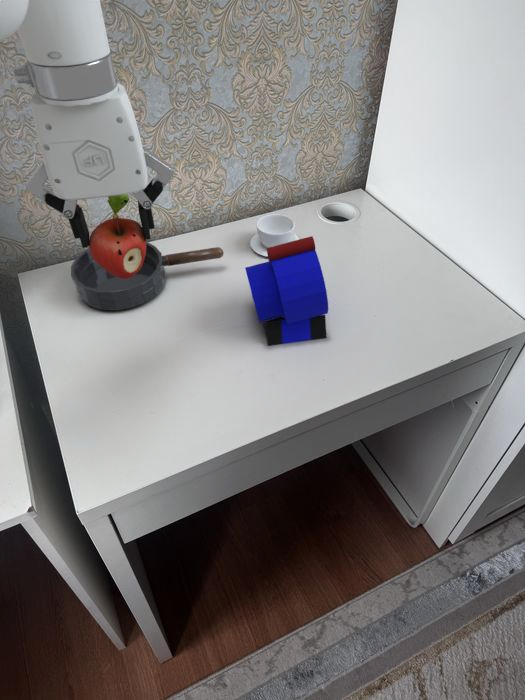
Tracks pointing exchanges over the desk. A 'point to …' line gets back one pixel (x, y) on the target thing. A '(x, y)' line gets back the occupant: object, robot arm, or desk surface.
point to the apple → (118, 242)
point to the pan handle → (192, 256)
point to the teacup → (272, 232)
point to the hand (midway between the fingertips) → (116, 236)
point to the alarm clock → (290, 292)
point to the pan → (118, 282)
